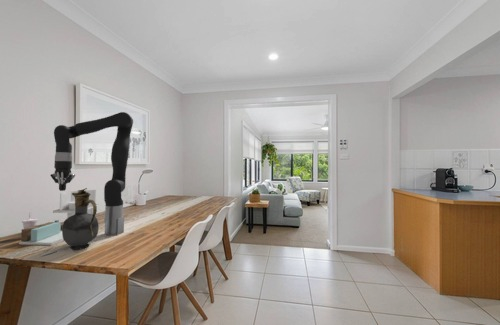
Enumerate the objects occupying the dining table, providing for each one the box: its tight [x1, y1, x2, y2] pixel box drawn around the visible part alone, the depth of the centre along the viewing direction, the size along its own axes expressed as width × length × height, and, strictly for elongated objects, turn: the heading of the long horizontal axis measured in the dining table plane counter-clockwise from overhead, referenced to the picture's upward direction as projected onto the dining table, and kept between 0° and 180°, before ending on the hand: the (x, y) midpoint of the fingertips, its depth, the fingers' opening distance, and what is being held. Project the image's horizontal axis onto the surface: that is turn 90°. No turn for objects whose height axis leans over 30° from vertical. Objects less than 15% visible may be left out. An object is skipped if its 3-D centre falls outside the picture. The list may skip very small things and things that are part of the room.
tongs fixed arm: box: [20, 221, 55, 242], centre depth 118 cm, size 15×3×6 cm, turn 179°
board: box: [19, 230, 65, 246], centre depth 120 cm, size 17×20×1 cm
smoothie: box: [21, 211, 39, 229], centre depth 122 cm, size 6×6×14 cm
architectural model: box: [52, 189, 99, 219], centre depth 149 cm, size 28×21×23 cm
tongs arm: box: [31, 219, 62, 241], centre depth 119 cm, size 17×4×7 cm, turn 4°
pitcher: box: [61, 187, 99, 251], centre depth 107 cm, size 11×19×30 cm, turn 67°
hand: (62, 190), depth 121 cm, fingers closed
